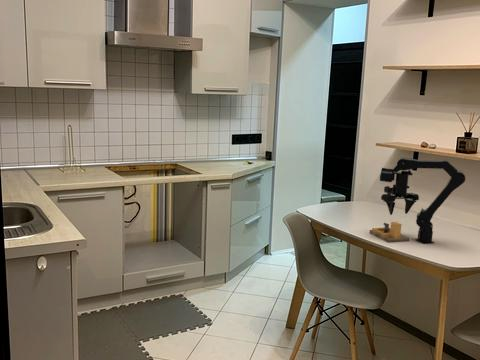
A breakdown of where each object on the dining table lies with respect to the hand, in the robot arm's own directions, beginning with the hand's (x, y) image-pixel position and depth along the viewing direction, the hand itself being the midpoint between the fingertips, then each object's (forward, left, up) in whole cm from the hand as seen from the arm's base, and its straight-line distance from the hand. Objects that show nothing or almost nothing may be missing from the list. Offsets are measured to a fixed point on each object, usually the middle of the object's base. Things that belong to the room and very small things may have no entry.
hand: (398, 214), depth 234 cm
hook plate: (+1, +3, -12) cm, 13 cm away
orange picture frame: (+2, +3, -11) cm, 11 cm away
